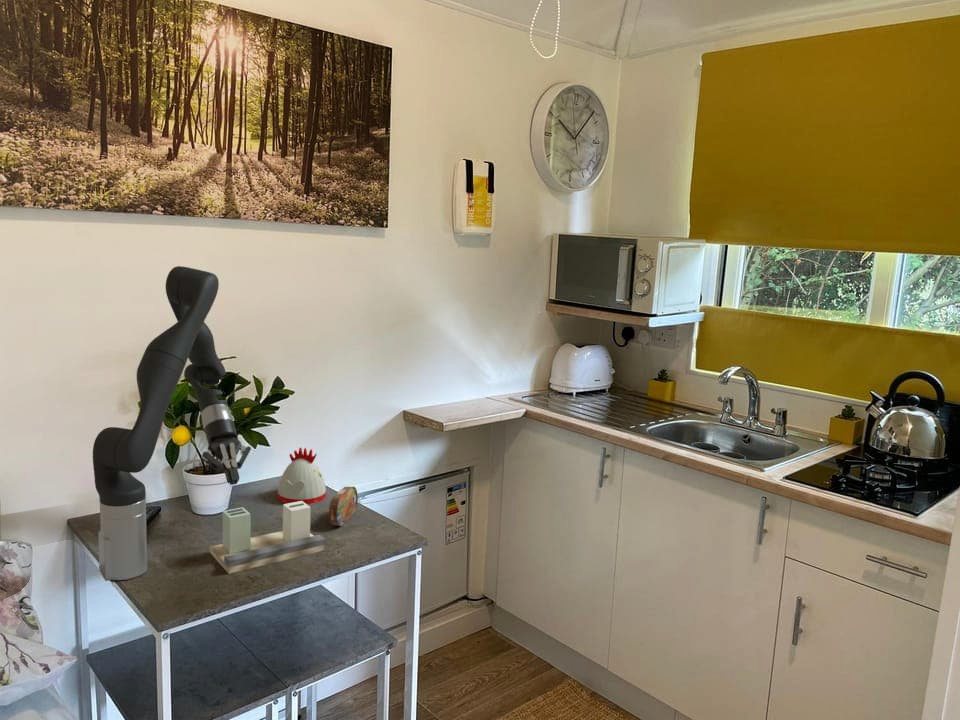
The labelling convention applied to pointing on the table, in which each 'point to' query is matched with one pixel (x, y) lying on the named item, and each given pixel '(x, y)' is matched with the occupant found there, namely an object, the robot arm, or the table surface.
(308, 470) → the kitchen timer
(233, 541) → the key two
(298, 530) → the key one
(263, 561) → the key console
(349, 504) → the tin
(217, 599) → the table surface
